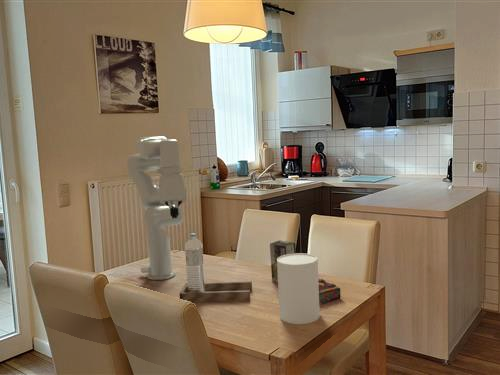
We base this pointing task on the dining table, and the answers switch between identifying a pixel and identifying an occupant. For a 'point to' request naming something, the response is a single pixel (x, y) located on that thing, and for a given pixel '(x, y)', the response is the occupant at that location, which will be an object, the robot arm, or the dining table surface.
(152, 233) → the robot arm
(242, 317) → the dining table surface
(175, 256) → the dining table surface
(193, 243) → the water bottle
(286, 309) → the canister
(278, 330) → the dining table surface
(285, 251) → the coffee box
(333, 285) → the decorative book
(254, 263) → the dining table surface
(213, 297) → the bottle rest
